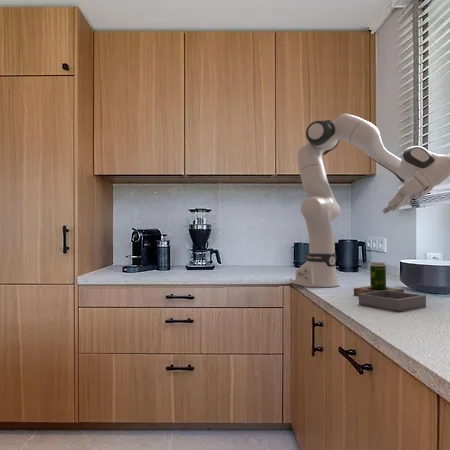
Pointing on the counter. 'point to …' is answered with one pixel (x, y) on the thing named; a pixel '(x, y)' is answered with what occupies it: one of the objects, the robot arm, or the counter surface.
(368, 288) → the brown square board
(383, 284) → the beer can
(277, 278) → the counter surface
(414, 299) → the tray
